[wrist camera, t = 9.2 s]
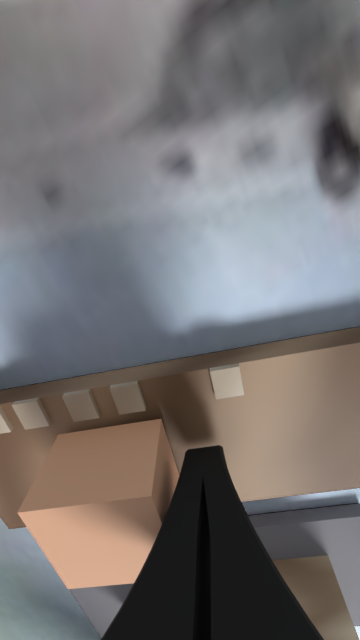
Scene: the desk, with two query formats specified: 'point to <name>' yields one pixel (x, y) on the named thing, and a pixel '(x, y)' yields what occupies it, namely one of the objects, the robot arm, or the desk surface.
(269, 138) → the desk surface
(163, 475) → the block
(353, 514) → the mat
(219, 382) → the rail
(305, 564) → the birch cube
